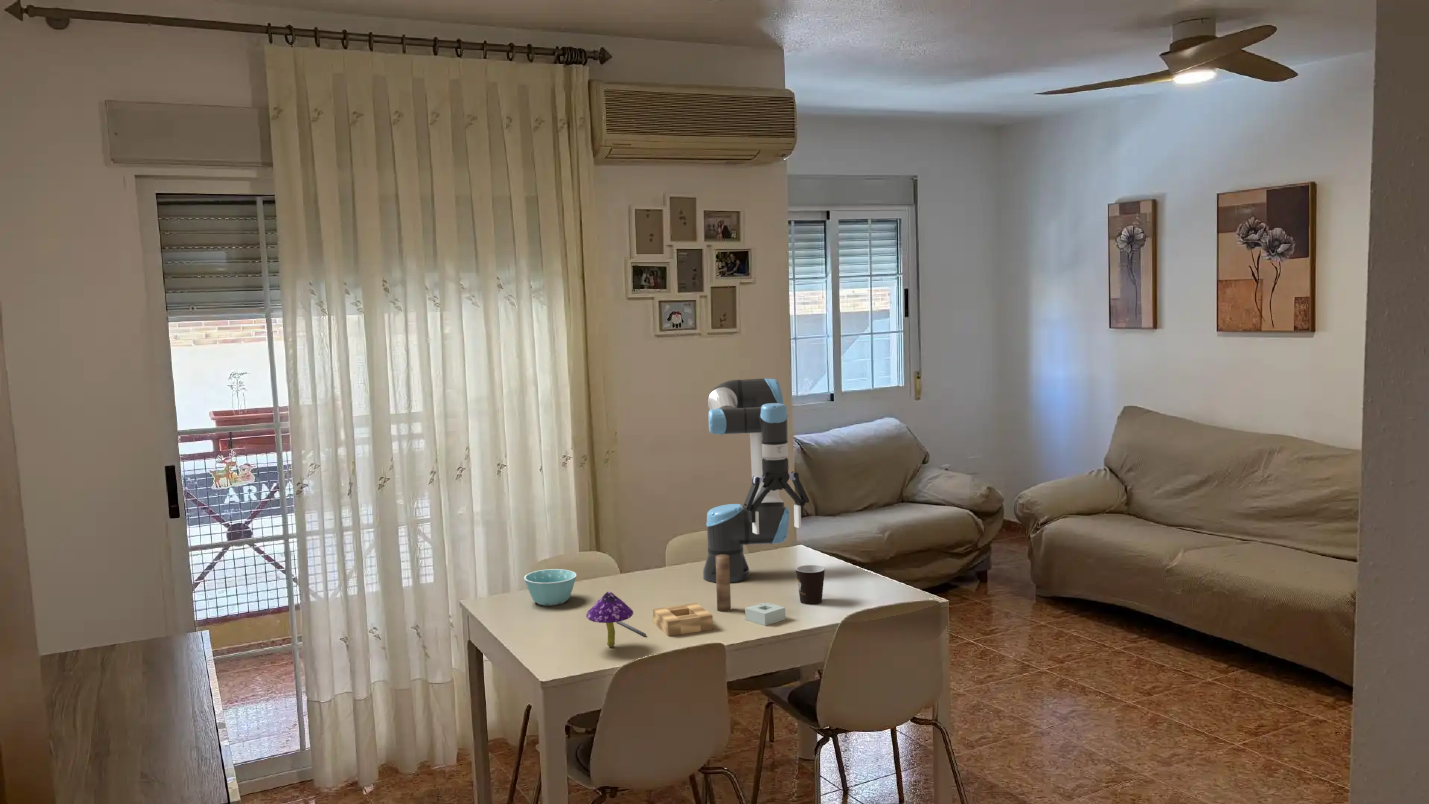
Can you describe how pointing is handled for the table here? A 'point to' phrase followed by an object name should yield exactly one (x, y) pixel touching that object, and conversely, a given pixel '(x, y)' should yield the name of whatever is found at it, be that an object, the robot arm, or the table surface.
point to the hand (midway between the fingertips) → (776, 530)
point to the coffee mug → (810, 583)
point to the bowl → (550, 586)
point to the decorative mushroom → (609, 613)
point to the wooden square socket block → (682, 619)
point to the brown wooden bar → (723, 583)
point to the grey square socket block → (765, 613)
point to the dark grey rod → (631, 628)
